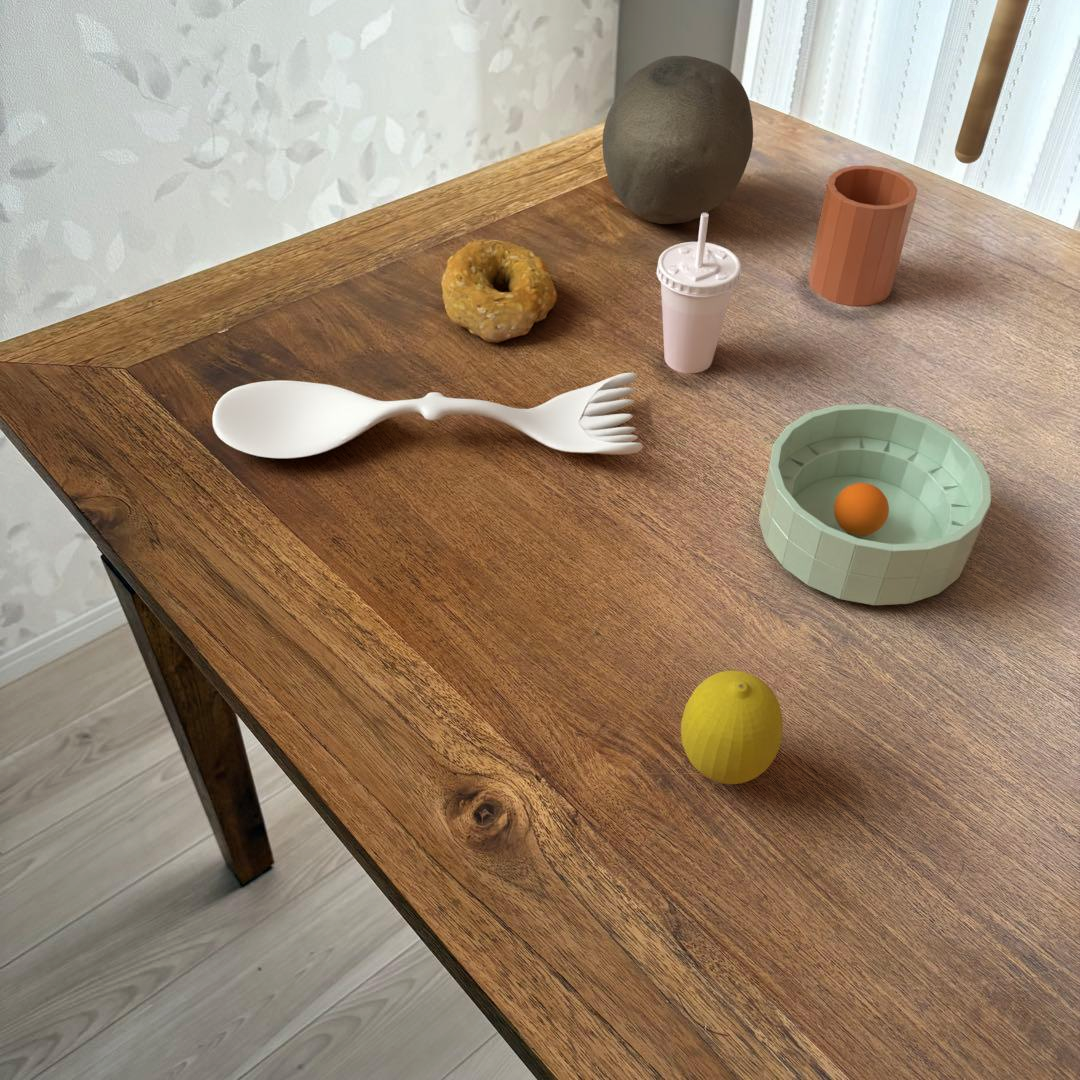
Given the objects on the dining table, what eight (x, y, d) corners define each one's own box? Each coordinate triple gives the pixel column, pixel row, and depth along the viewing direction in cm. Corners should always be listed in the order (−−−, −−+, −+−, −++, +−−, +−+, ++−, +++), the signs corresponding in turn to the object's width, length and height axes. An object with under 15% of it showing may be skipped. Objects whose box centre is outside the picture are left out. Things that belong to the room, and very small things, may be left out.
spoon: (640, 478, 82) (643, 443, 79) (206, 473, 82) (196, 437, 79) (635, 401, 88) (638, 366, 85) (232, 396, 88) (223, 361, 86)
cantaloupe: (566, 215, 108) (569, 59, 97) (670, 169, 114) (684, 18, 103) (669, 277, 100) (685, 116, 89) (774, 224, 106) (801, 68, 96)
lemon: (655, 767, 65) (667, 685, 59) (716, 712, 67) (732, 628, 61) (730, 828, 62) (750, 748, 56) (790, 768, 64) (815, 685, 59)
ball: (874, 508, 78) (885, 470, 76) (888, 545, 76) (900, 507, 73) (823, 510, 78) (833, 473, 76) (836, 547, 76) (847, 510, 73)
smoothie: (641, 383, 89) (655, 227, 79) (655, 338, 94) (669, 184, 84) (721, 395, 88) (744, 239, 78) (731, 348, 93) (754, 194, 83)
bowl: (928, 462, 83) (950, 399, 78) (995, 607, 73) (1024, 544, 69) (740, 471, 82) (751, 408, 78) (782, 618, 72) (797, 555, 68)
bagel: (440, 348, 93) (436, 299, 89) (445, 275, 100) (442, 228, 97) (559, 347, 93) (559, 298, 89) (555, 274, 100) (555, 227, 97)
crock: (876, 266, 101) (902, 163, 94) (899, 312, 96) (928, 207, 89) (798, 269, 101) (818, 166, 94) (817, 315, 96) (840, 210, 89)
